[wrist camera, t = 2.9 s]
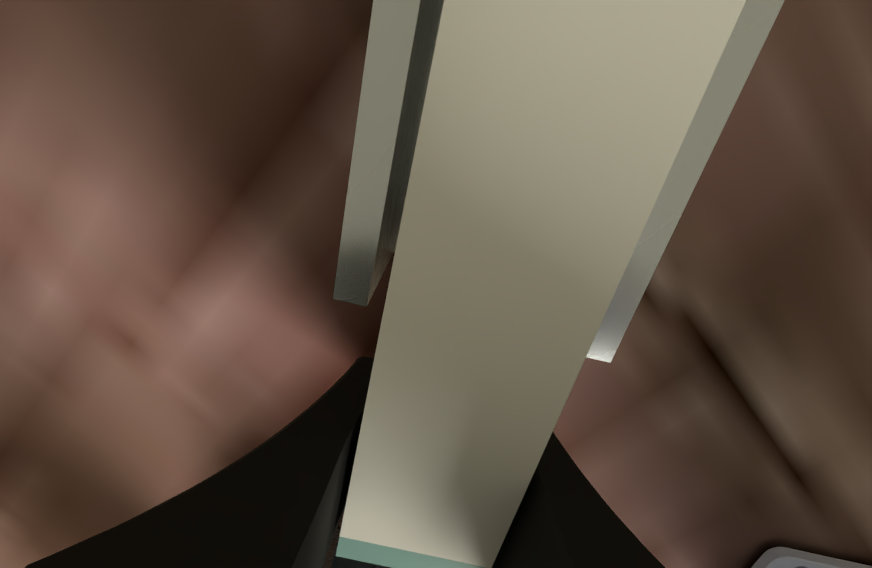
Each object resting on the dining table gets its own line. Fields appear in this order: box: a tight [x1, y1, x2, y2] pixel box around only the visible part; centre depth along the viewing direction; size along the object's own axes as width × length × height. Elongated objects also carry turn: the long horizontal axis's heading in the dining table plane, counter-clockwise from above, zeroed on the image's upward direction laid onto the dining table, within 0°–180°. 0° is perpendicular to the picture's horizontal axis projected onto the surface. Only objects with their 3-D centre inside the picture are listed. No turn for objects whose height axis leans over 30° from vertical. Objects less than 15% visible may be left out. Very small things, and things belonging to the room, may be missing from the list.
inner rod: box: [336, 0, 746, 568], centre depth 7 cm, size 3×16×4 cm, turn 167°
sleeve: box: [333, 0, 785, 363], centre depth 7 cm, size 5×10×4 cm, turn 167°
